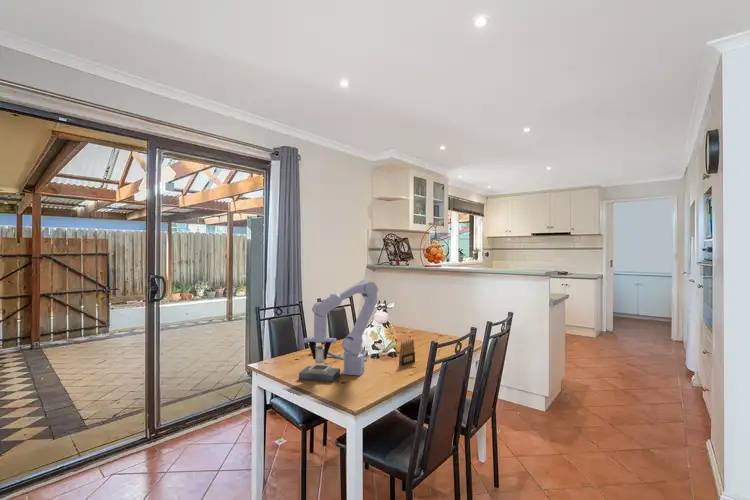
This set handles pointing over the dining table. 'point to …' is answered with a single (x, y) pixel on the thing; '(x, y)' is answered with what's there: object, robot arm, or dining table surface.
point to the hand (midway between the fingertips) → (320, 358)
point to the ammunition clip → (407, 353)
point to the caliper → (331, 354)
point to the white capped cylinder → (319, 354)
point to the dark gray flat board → (319, 373)
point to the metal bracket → (359, 352)
